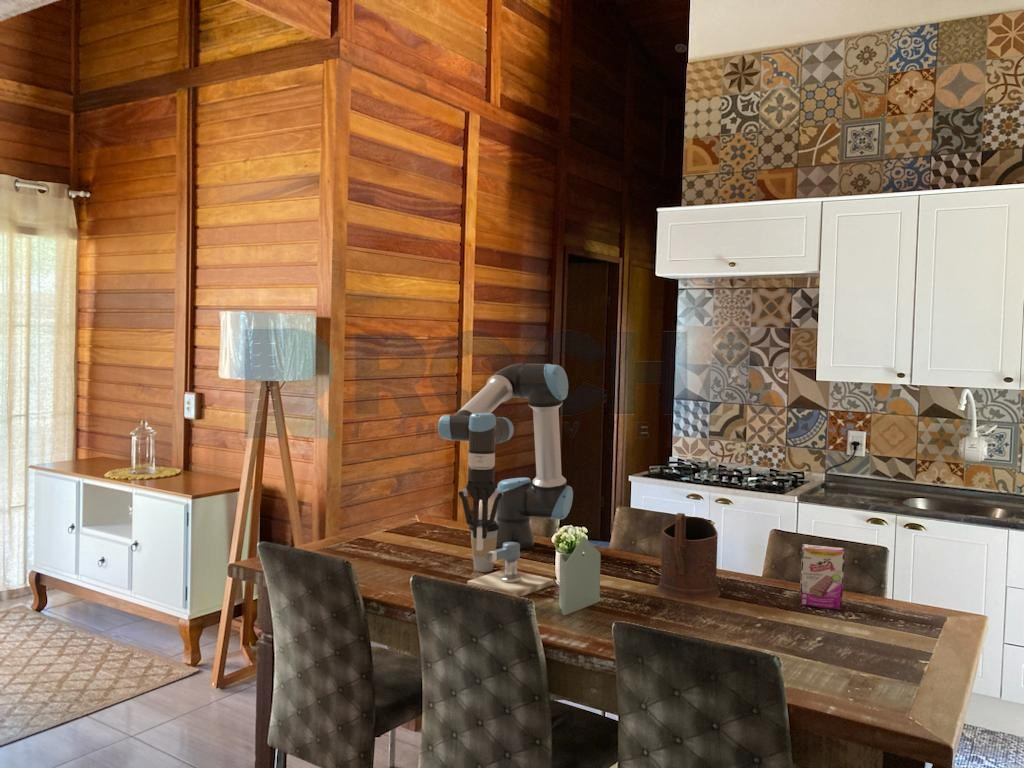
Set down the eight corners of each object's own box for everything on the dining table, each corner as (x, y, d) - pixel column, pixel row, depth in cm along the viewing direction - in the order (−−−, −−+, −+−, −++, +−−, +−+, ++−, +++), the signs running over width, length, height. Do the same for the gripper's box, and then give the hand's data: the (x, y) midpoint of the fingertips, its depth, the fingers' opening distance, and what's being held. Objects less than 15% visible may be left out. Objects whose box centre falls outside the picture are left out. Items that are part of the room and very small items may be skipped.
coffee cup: (499, 566, 275) (500, 519, 274) (496, 574, 265) (497, 525, 264) (470, 564, 276) (471, 518, 275) (466, 572, 266) (466, 524, 265)
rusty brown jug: (726, 587, 256) (729, 503, 254) (709, 609, 234) (711, 518, 233) (665, 578, 264) (667, 497, 262) (642, 600, 242) (645, 511, 240)
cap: (509, 554, 257) (509, 541, 257) (522, 557, 254) (523, 543, 254) (482, 562, 247) (482, 548, 247) (496, 565, 244) (496, 551, 244)
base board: (505, 573, 266) (505, 568, 266) (553, 584, 255) (553, 579, 255) (467, 586, 252) (467, 581, 252) (516, 598, 241) (516, 593, 241)
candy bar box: (799, 606, 239) (801, 547, 238) (799, 601, 243) (801, 543, 243) (842, 611, 235) (845, 551, 234) (842, 605, 240) (844, 547, 239)
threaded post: (508, 576, 258) (509, 554, 258) (524, 579, 254) (525, 558, 254) (496, 580, 253) (496, 558, 253) (512, 584, 249) (512, 562, 249)
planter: (576, 595, 245) (578, 526, 244) (600, 601, 240) (601, 531, 239) (541, 609, 232) (542, 536, 231) (564, 615, 227) (566, 541, 226)
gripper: (456, 468, 243) (454, 551, 244) (502, 470, 241) (500, 553, 242) (461, 464, 251) (460, 545, 252) (505, 466, 249) (504, 547, 250)
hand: (479, 549), depth 247 cm, fingers closed
